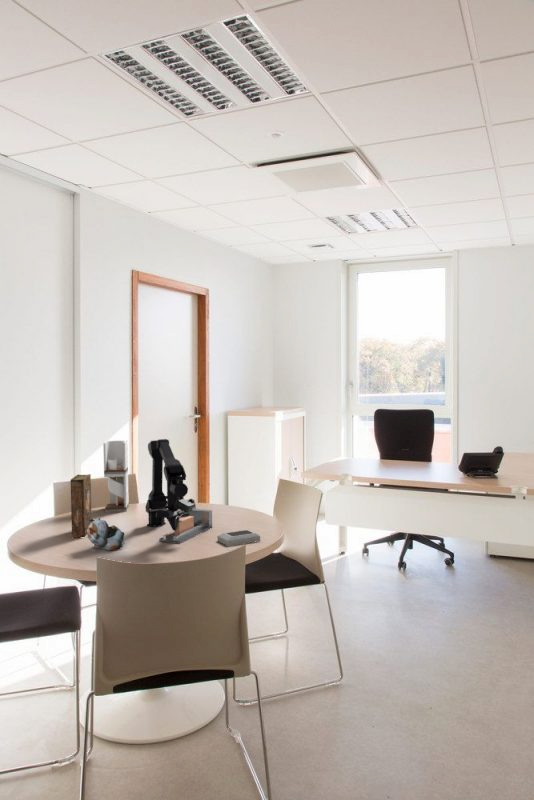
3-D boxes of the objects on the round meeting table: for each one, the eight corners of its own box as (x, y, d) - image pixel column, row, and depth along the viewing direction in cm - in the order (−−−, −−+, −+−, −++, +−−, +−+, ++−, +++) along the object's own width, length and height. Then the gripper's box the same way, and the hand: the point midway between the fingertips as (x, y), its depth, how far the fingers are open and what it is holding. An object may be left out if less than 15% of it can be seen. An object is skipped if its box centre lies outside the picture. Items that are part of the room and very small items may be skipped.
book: (84, 538, 268) (83, 479, 267) (71, 538, 267) (69, 480, 266) (91, 528, 284) (90, 473, 283) (79, 529, 284) (78, 474, 283)
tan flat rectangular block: (174, 536, 265) (174, 522, 265) (189, 529, 276) (188, 516, 276) (179, 536, 264) (179, 522, 264) (193, 530, 275) (193, 516, 275)
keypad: (217, 533, 261) (249, 528, 268) (217, 542, 261) (249, 537, 268) (227, 538, 252) (260, 533, 260) (227, 547, 252) (260, 542, 260)
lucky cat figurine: (123, 551, 247) (106, 523, 242) (95, 563, 247) (78, 535, 243) (128, 531, 261) (112, 504, 256) (102, 542, 262) (85, 516, 257)
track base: (159, 541, 261) (158, 522, 261) (192, 525, 287) (192, 508, 287) (180, 543, 257) (179, 524, 257) (212, 527, 283) (212, 510, 283)
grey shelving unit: (108, 507, 330) (106, 440, 329) (128, 506, 331) (127, 440, 330) (104, 512, 319) (103, 443, 317) (126, 511, 320) (124, 442, 319)
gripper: (178, 498, 251) (179, 537, 251) (201, 490, 268) (202, 527, 268) (155, 496, 255) (155, 534, 256) (179, 489, 272) (179, 524, 273)
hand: (174, 530), depth 263 cm, fingers closed
